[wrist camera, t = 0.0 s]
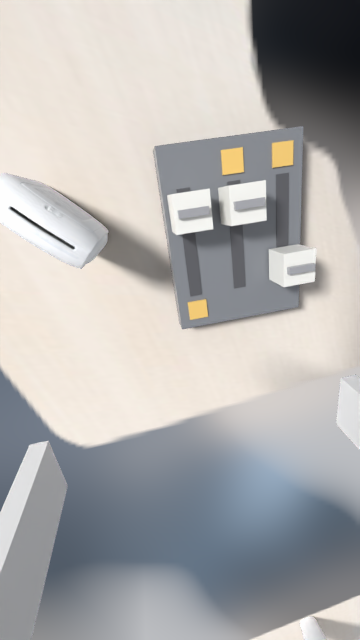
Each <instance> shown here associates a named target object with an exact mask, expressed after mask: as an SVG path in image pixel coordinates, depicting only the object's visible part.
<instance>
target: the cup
mask: <svg viewBox="0 0 360 640" xmlns="http://www.w3.org/2000/svg"><path fill="white" fill-rule="evenodd" d="M300 627H301V630H302V634H303V638H304V640H327V638H326V636H325V634H324V633H323V631H322V629H321V628H320V626H319V624H318V622H317V621H316V619H315V617H313V616H309V617H306V618H304V619H302V620H301V621H300Z"/></svg>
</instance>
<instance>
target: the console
mask: <svg viewBox="0 0 360 640" xmlns="http://www.w3.org/2000/svg"><path fill="white" fill-rule="evenodd" d="M153 154H154V161H155V167H156V174H157V180H158V187H159V193H160V200H161V206H162V213H163V220H164V226H165V233H166V239H167V246H168V252H169V259H170V265H171V272H172V278H173V285H174V291H175V298H176V304H177V311H178V317H179V322H180V325H181V327H182V329H187V328H192V327H197V326H202V325H208V324H213V323H218V322H223V321H228V320H234V319H239V318H244V317H249V316H255V315H260V314H265V313H270V312H275V311H281V310H286V309H291V308H296V307H299V285H294V286H288V287H282V286H280V285H279V284H277V283H275V282H273V281H271V280H269V249H273V248H279V247H285V246H290V245H296V244H300V233H301V195H302V156H303V126H301V127H294V128H286V129H279V130H271V131H264V132H256V133H249V134H242V135H234V136H227V137H219V138H212V139H204V140H197V141H190V142H182V143H175V144H167V145H160V146H155V147H154V150H153ZM263 180H266V213H267V220H266V221H260V222H254V223H248V224H242V225H236V226H228V225H223V224H221V219H220V206H219V194H218V188H220V187H224V186H229V185H236V184H243V183H249V182H256V181H263ZM209 188H210V197H211V209H212V220H213V229H211V230H205V231H199V232H193V233H186V234H180V235H176V234H175V233H173V232H172V227H171V220H170V213H169V207H168V200H167V195H170V194H176V193H183V192H189V191H196V190H203V189H209Z"/></svg>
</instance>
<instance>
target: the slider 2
mask: <svg viewBox="0 0 360 640" xmlns="http://www.w3.org/2000/svg"><path fill="white" fill-rule="evenodd" d="M315 268H316V248H312V247H308V246H304V245H300V244H296V245H290V246H285V247H279V248H273V249H269V280H271V281H273V282H275V283H277V284H279V285H280V286H282V287H288V286H294V285H299V284H304V283H310V282H315Z"/></svg>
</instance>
